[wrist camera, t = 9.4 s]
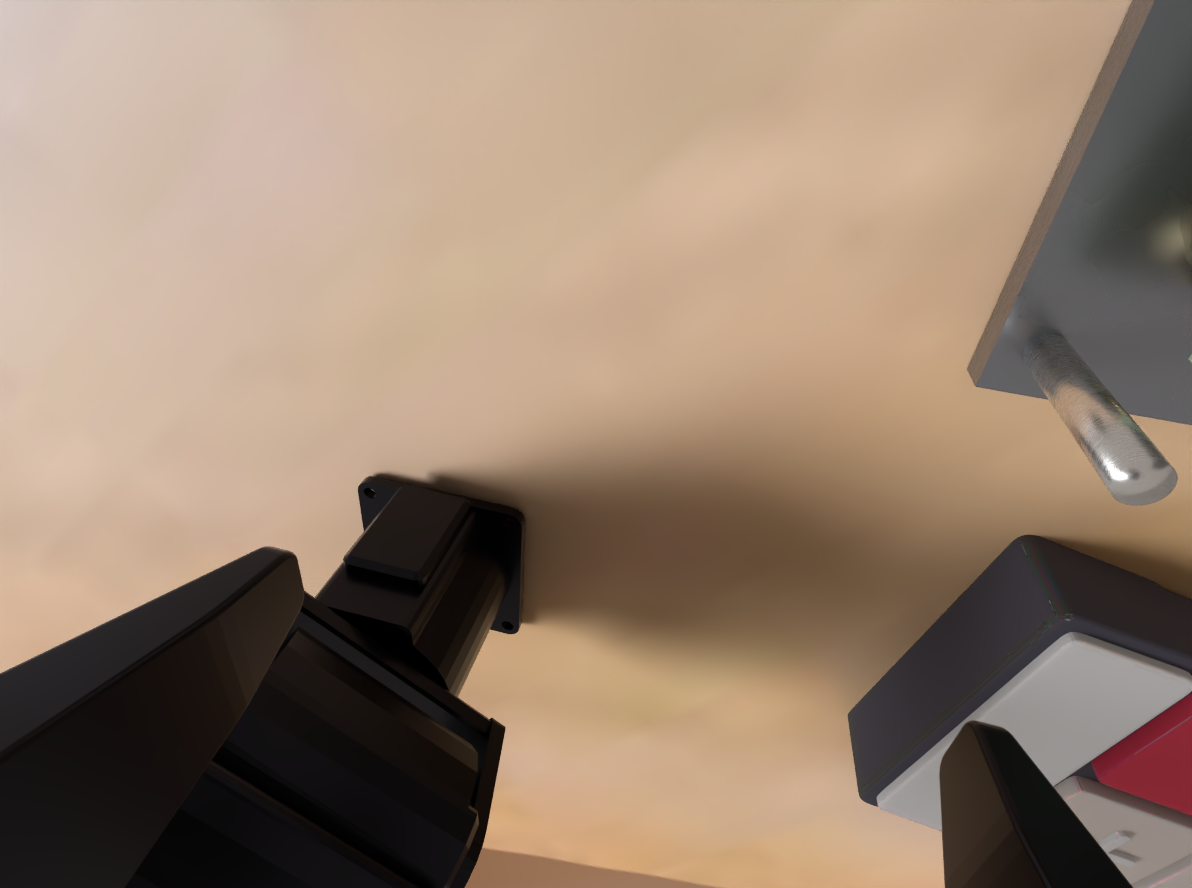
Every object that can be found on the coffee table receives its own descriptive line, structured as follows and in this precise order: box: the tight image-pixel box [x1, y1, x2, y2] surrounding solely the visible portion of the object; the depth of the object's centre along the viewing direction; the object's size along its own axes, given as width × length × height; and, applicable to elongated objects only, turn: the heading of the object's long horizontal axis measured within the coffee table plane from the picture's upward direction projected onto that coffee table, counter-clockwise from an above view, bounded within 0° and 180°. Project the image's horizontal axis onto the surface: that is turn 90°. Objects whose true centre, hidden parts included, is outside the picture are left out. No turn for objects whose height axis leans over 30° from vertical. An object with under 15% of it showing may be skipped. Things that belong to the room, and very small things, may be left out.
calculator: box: [848, 535, 1192, 888], centre depth 22 cm, size 11×4×15 cm
